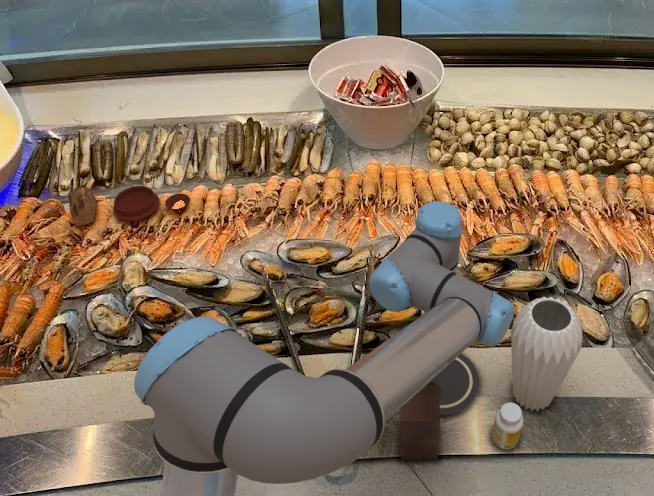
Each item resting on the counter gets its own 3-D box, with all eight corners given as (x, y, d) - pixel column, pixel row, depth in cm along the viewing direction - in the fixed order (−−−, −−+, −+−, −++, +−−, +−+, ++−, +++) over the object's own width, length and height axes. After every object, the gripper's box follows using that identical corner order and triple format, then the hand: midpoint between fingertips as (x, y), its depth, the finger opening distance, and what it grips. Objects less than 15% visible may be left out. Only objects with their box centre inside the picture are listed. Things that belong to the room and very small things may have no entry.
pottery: (122, 196, 181) (117, 184, 178) (196, 195, 182) (193, 182, 179) (109, 226, 172) (104, 214, 169) (187, 224, 173) (183, 212, 170)
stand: (401, 460, 127) (400, 419, 117) (401, 426, 132) (400, 384, 122) (437, 459, 127) (440, 419, 117) (436, 426, 132) (439, 384, 122)
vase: (526, 355, 145) (544, 275, 127) (577, 394, 138) (603, 315, 120) (487, 393, 138) (499, 314, 120) (538, 436, 131) (559, 359, 113)
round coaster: (422, 428, 132) (422, 425, 131) (391, 365, 142) (390, 363, 142) (492, 398, 137) (493, 396, 136) (457, 340, 147) (457, 337, 147)
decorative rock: (99, 229, 172) (85, 198, 164) (74, 234, 170) (59, 203, 163) (100, 199, 180) (87, 169, 173) (76, 204, 178) (62, 173, 171)
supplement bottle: (488, 444, 130) (492, 418, 123) (496, 420, 133) (501, 395, 127) (514, 454, 128) (520, 429, 122) (522, 430, 132) (528, 404, 125)
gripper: (455, 315, 112) (448, 391, 127) (459, 242, 124) (452, 320, 140) (411, 312, 112) (409, 388, 128) (419, 239, 125) (417, 317, 141)
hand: (432, 352), depth 134 cm, fingers closed on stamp, 4 cm apart
